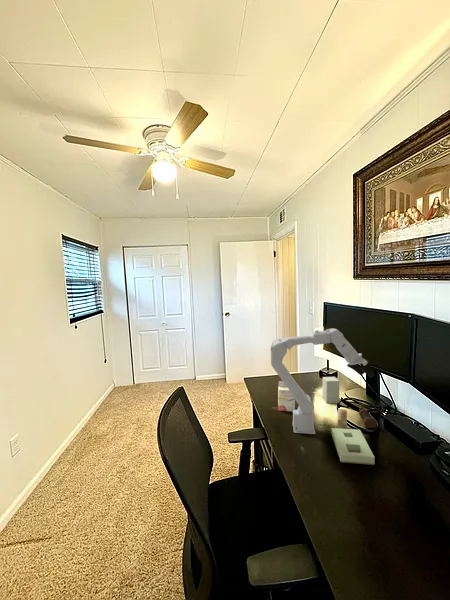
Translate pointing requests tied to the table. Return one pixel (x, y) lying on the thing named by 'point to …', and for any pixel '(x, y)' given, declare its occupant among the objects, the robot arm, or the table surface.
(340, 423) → the pin
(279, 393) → the ink cartridge box
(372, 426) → the bolt
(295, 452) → the table surface
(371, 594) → the table surface
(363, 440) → the socket block
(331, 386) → the supplement box
